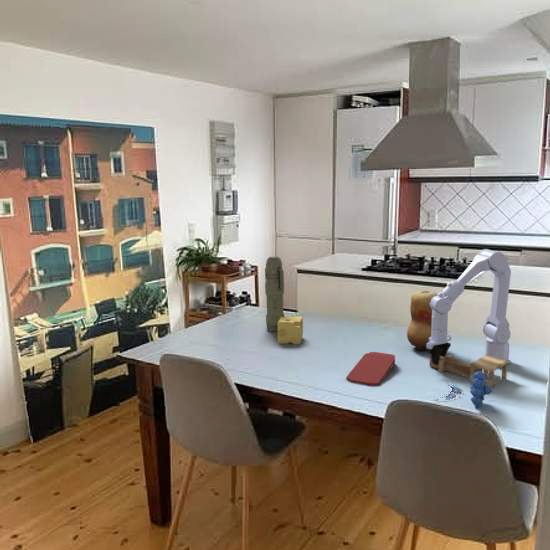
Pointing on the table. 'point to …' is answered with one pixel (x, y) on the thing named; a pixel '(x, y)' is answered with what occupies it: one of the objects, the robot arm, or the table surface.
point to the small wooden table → (489, 367)
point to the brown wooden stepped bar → (453, 366)
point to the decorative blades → (454, 389)
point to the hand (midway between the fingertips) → (438, 362)
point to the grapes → (479, 388)
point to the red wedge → (371, 368)
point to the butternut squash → (420, 319)
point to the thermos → (274, 292)
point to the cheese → (290, 330)
